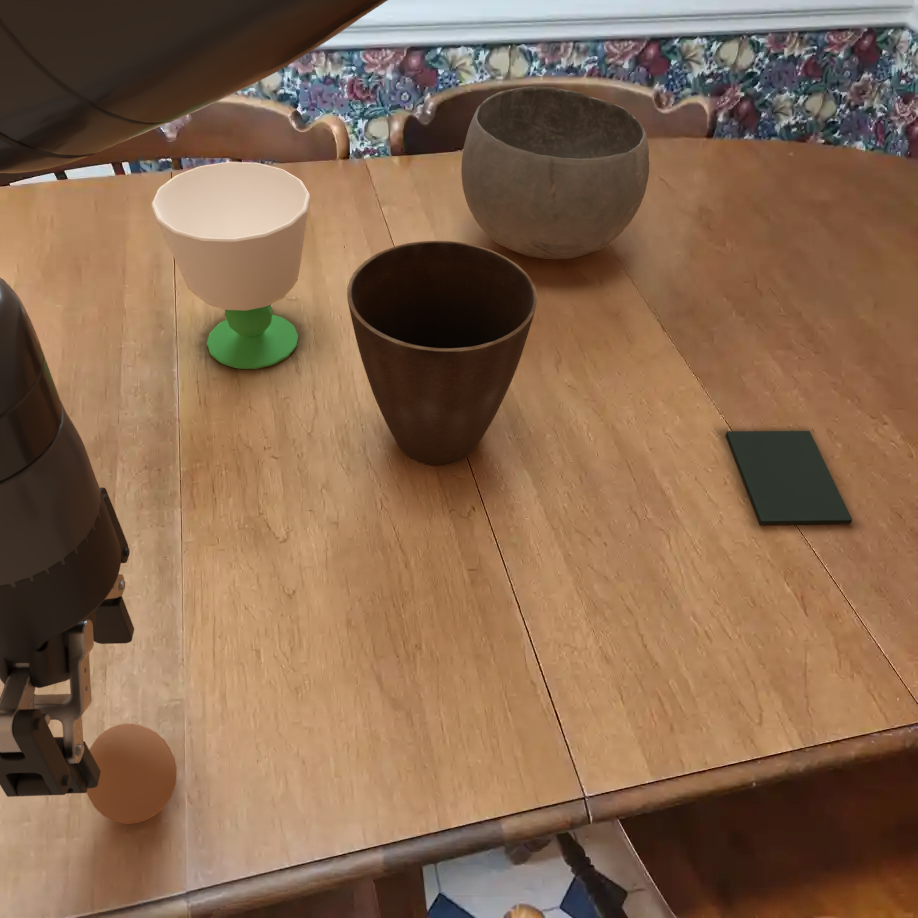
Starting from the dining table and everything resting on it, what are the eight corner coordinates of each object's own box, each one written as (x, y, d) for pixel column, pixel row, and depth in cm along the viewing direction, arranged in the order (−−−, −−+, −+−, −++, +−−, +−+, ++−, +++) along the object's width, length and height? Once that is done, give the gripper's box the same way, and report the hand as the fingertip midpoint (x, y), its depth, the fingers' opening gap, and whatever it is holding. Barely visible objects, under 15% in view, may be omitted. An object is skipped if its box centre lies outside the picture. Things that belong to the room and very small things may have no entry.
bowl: (640, 296, 98) (669, 170, 87) (455, 286, 97) (462, 158, 87) (620, 202, 112) (644, 83, 102) (459, 193, 112) (466, 73, 101)
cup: (328, 378, 86) (317, 234, 75) (182, 392, 83) (148, 246, 72) (315, 295, 95) (303, 156, 84) (183, 306, 93) (153, 165, 81)
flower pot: (347, 390, 85) (338, 244, 73) (499, 377, 87) (513, 234, 76) (364, 506, 75) (357, 358, 63) (535, 487, 77) (558, 341, 66)
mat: (850, 523, 76) (852, 520, 75) (759, 525, 75) (761, 521, 75) (808, 434, 83) (809, 430, 83) (725, 434, 83) (726, 431, 82)
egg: (129, 859, 54) (97, 804, 48) (85, 799, 56) (50, 740, 51) (201, 800, 57) (179, 742, 51) (156, 745, 59) (130, 684, 53)
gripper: (51, 658, 32) (144, 836, 43) (131, 393, 42) (189, 596, 53) (-169, 663, 31) (-15, 842, 43) (-35, 393, 41) (60, 598, 53)
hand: (98, 705), depth 48 cm, fingers open, 8 cm apart
